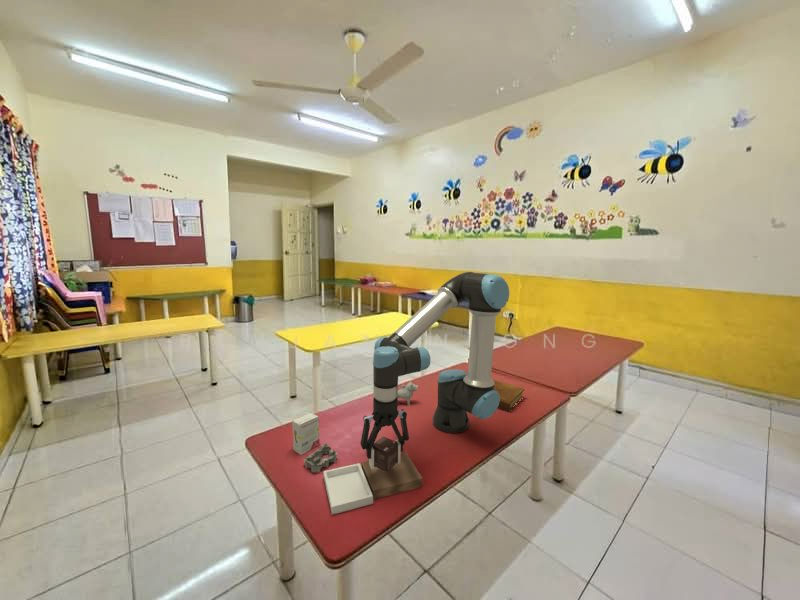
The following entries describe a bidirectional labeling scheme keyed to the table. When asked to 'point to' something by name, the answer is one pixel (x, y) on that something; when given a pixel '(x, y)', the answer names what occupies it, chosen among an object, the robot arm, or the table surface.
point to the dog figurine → (407, 391)
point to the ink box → (305, 433)
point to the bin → (347, 488)
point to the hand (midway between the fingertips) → (384, 463)
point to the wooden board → (392, 478)
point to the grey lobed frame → (317, 456)
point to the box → (385, 453)
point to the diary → (507, 395)
